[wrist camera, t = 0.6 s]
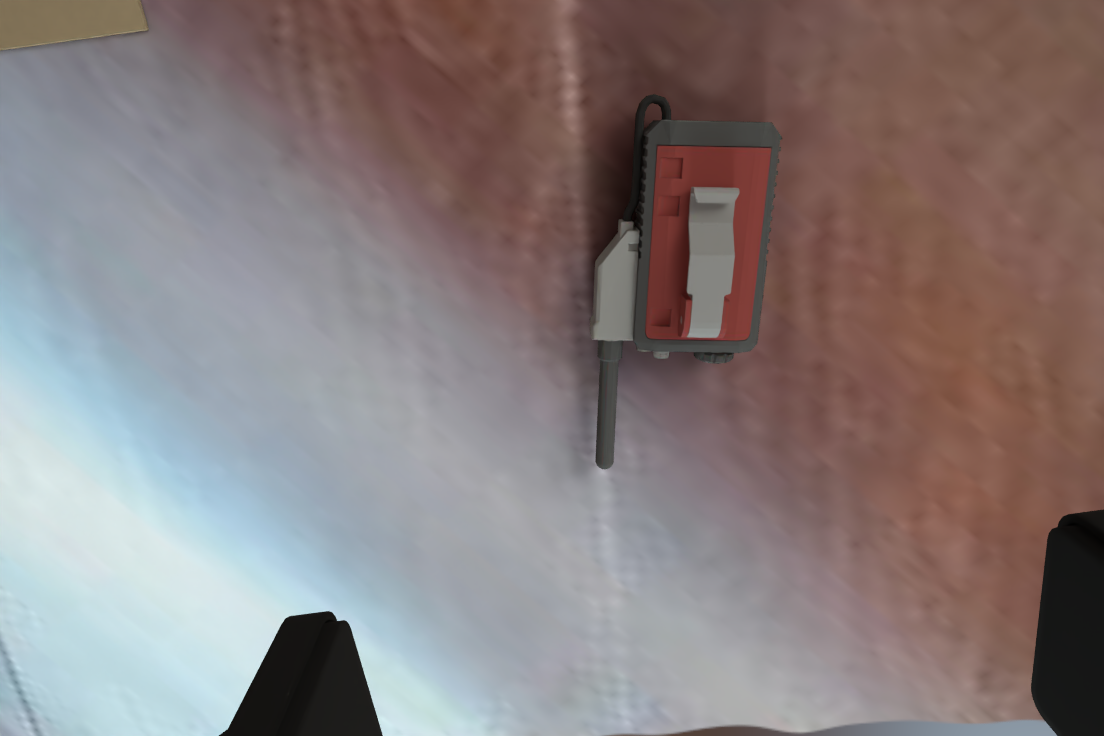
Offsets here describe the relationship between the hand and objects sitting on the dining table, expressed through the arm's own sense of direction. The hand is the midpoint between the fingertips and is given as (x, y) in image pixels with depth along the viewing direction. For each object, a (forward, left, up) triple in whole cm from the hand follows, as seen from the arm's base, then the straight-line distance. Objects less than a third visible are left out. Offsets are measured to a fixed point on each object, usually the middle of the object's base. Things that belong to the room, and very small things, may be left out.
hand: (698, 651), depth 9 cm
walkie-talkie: (+3, +5, -30) cm, 30 cm away
